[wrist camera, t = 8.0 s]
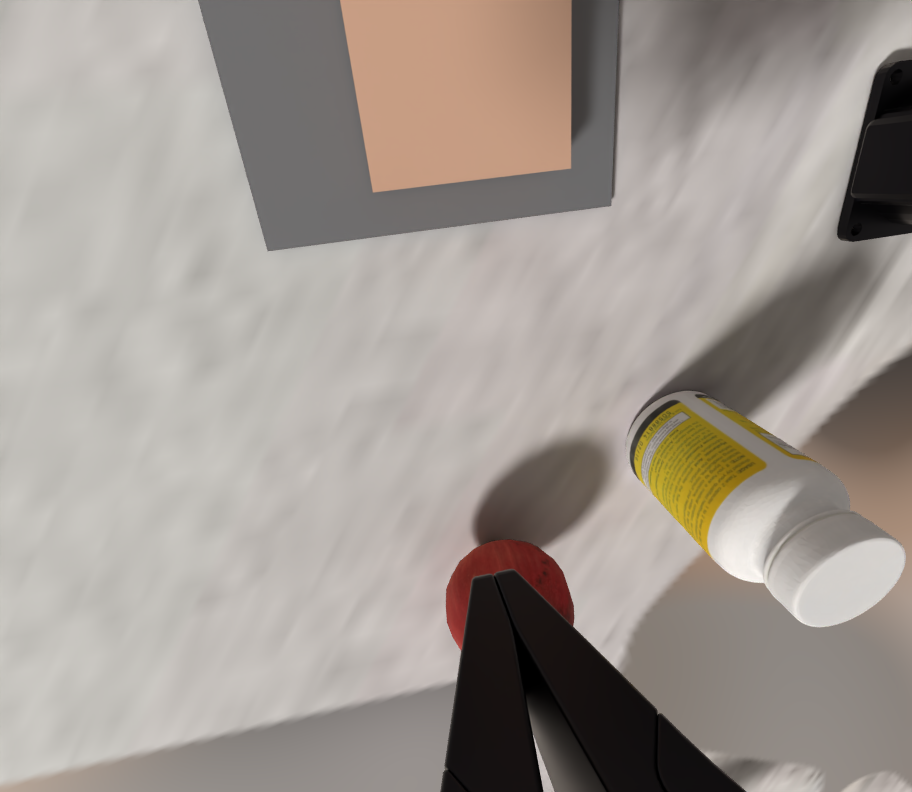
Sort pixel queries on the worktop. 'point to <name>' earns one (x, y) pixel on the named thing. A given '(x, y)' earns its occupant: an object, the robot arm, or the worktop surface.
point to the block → (460, 88)
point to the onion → (498, 558)
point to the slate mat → (341, 139)
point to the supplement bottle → (763, 508)
